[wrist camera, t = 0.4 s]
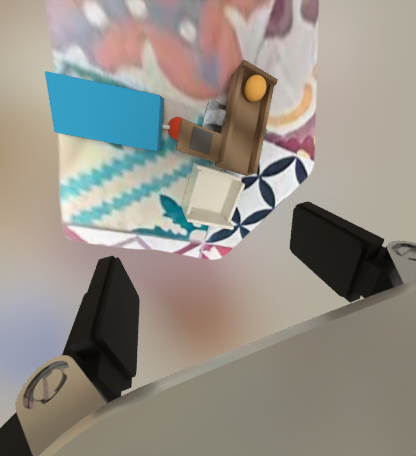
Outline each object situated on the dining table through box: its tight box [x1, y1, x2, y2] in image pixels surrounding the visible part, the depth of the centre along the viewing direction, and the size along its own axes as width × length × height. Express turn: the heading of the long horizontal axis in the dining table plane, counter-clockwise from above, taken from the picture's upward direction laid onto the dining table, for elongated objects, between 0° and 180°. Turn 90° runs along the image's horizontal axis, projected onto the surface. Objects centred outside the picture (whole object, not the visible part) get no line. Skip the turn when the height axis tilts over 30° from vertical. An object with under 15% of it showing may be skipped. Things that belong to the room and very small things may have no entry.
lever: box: [45, 72, 182, 151], centre depth 29 cm, size 7×7×18 cm
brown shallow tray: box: [176, 60, 278, 176], centre depth 28 cm, size 14×12×5 cm
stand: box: [202, 99, 267, 136], centre depth 32 cm, size 5×10×6 cm, turn 72°
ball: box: [244, 75, 266, 102], centre depth 28 cm, size 3×3×3 cm
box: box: [181, 162, 245, 230], centre depth 36 cm, size 9×9×7 cm
